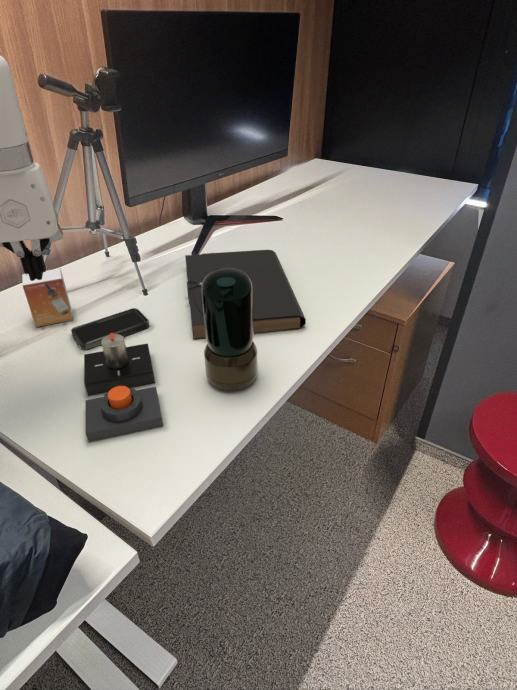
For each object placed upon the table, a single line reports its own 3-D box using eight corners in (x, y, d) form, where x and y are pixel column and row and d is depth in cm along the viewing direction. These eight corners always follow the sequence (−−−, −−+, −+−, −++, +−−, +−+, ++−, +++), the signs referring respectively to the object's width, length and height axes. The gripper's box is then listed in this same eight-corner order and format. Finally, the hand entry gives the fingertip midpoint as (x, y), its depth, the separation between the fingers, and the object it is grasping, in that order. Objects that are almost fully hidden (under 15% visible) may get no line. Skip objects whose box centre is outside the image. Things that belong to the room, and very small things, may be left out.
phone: (150, 322, 103) (81, 346, 96) (151, 326, 104) (82, 350, 97) (135, 306, 109) (69, 328, 102) (136, 311, 109) (70, 332, 102)
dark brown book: (184, 254, 124) (276, 248, 127) (185, 268, 126) (275, 262, 129) (190, 323, 97) (306, 313, 101) (192, 340, 100) (305, 329, 103)
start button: (110, 411, 78) (107, 402, 77) (109, 397, 81) (107, 388, 79) (133, 407, 79) (131, 397, 77) (131, 393, 81) (129, 383, 80)
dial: (129, 366, 88) (124, 343, 85) (107, 370, 87) (101, 347, 84) (127, 354, 91) (122, 330, 88) (106, 358, 90) (100, 334, 87)
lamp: (200, 391, 87) (188, 283, 74) (213, 359, 94) (204, 256, 82) (252, 396, 86) (249, 288, 73) (261, 364, 93) (260, 260, 80)
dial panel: (88, 396, 86) (84, 383, 84) (87, 366, 93) (83, 353, 91) (155, 383, 89) (152, 370, 87) (150, 355, 96) (147, 342, 94)
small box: (35, 328, 104) (21, 285, 98) (35, 315, 108) (20, 273, 102) (74, 320, 107) (62, 278, 100) (72, 308, 111) (60, 266, 105)
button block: (88, 442, 77) (82, 424, 75) (88, 409, 83) (82, 392, 81) (163, 426, 80) (160, 408, 78) (157, 395, 86) (154, 378, 84)
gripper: (-65, 168, 62) (-19, 293, 72) (57, 161, 65) (85, 282, 76) (-51, 153, 68) (-10, 271, 78) (61, 147, 71) (86, 261, 81)
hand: (37, 276), depth 77 cm, fingers closed
